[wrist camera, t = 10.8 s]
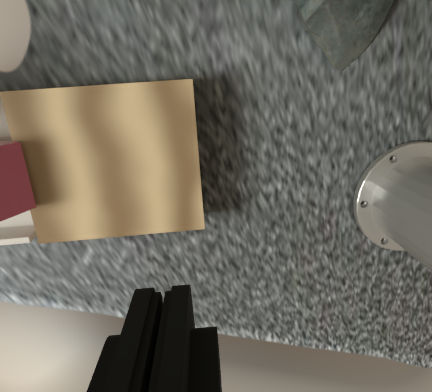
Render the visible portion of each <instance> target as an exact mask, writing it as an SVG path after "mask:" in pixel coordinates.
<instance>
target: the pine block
mask: <svg viewBox="0 0 432 392" xmlns="http://www.w3.org/2000/svg"><path fill="white" fill-rule="evenodd" d="M0 96H1V100H2V104H3V108H4V112H5V116H6V120H7V123H8V127H9V131H10V135H11V139H12V142H20V143H21V147H22V151H23V155H24V159H25V163H26V167H27V171H28V175H29V179H30V183H31V187H32V191H33V195H34V199H35V203H36V208H34V209H31V210H30V212H31V216H32V220H33V224H34V227H35V231H36V235H37V239H38V243H39V244H40V243H52V242H63V241H74V240H86V239H97V238H108V237H120V236H131V235H142V234H153V233H165V232H176V231H187V230H199V229H205V227H204V214H203V202H202V190H201V177H200V165H199V153H198V140H197V128H196V115H195V103H194V91H193V79H182V80H167V81H152V82H137V83H122V84H107V85H92V86H77V87H62V88H47V89H32V90H18V91H3V92H0Z"/></svg>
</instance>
